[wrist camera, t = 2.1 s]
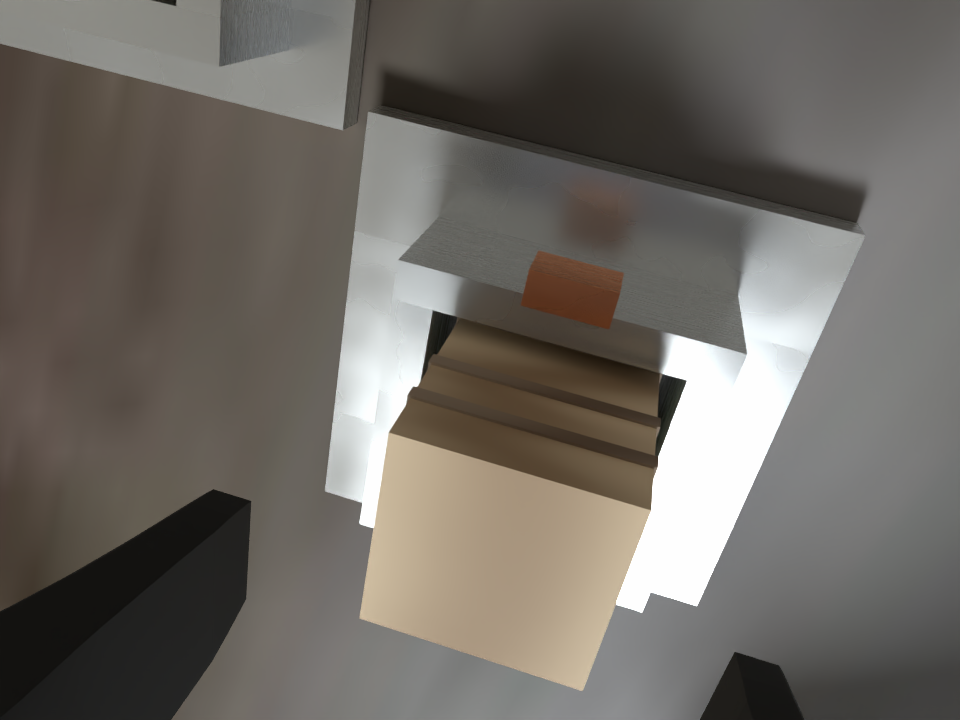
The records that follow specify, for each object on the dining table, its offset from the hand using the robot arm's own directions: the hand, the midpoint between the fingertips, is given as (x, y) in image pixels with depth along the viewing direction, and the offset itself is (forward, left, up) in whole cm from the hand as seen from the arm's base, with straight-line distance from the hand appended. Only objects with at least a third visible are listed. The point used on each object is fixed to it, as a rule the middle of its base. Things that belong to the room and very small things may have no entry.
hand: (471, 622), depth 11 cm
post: (0, 0, -8) cm, 8 cm away
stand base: (0, 0, -8) cm, 8 cm away
